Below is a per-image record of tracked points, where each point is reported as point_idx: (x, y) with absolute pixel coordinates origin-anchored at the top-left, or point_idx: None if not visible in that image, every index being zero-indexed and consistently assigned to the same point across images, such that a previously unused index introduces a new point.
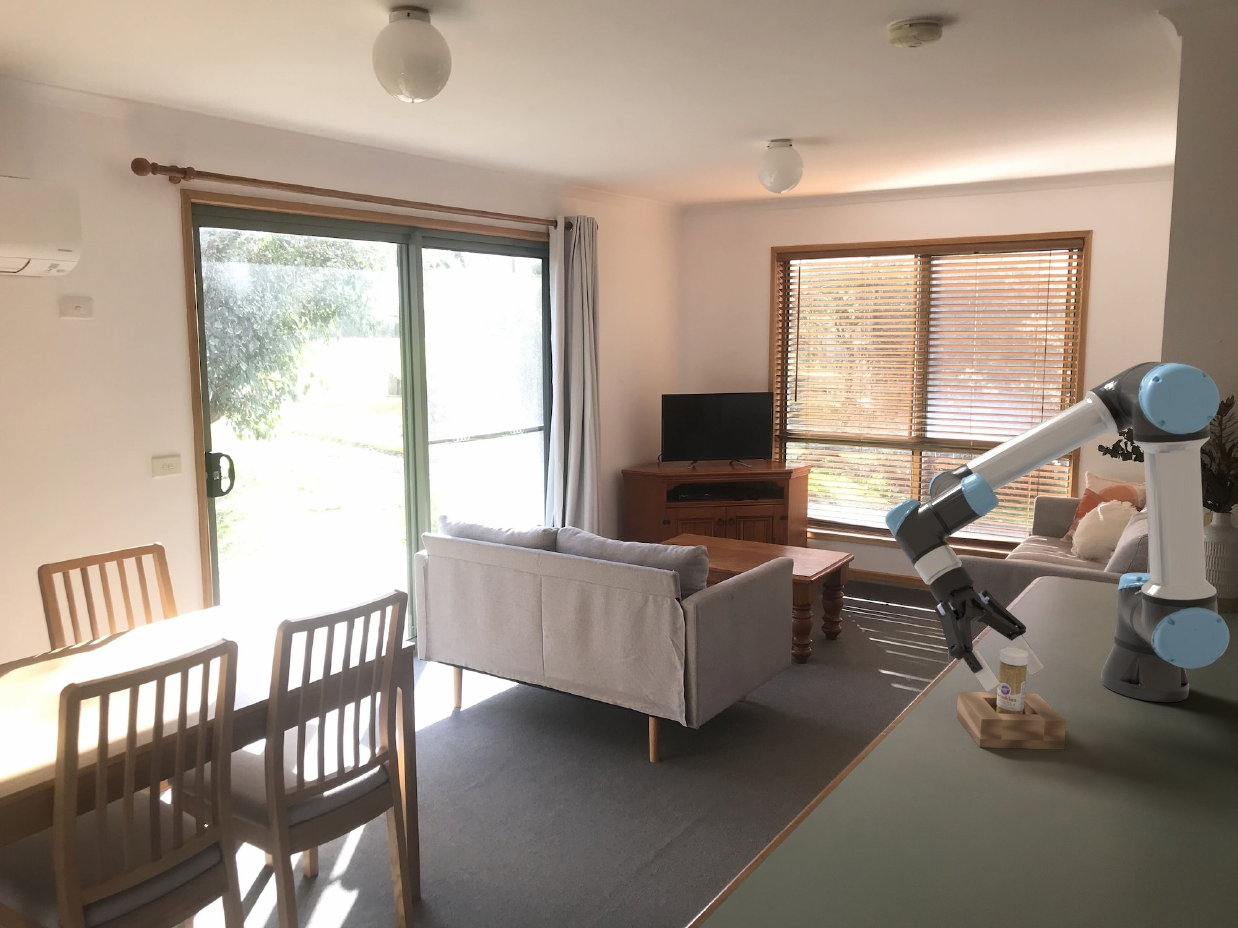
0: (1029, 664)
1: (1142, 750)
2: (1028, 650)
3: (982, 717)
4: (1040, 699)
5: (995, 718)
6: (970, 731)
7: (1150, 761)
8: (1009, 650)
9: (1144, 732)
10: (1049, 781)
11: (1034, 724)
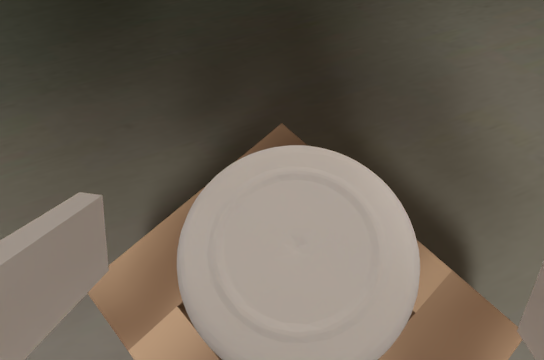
0: (75, 271)
1: (156, 59)
2: (14, 264)
3: (509, 338)
4: (141, 251)
5: (467, 295)
6: None
7: (205, 36)
8: (320, 285)
9: (43, 83)
10: (485, 127)
11: None
